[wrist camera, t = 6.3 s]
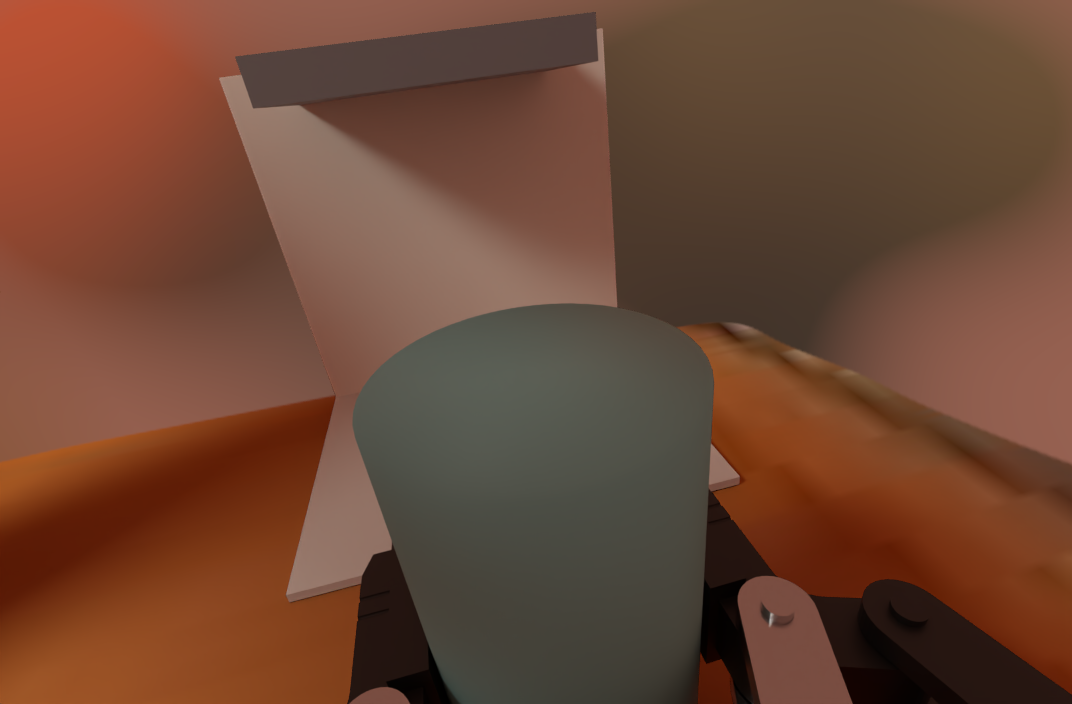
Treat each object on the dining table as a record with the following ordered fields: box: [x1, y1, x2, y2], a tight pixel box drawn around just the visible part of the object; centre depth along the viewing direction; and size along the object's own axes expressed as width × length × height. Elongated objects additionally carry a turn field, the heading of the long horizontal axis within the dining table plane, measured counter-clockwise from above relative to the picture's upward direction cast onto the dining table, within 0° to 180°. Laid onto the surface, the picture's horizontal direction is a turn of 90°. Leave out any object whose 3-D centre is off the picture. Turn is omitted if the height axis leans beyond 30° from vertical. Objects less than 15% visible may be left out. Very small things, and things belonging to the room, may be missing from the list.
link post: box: [352, 303, 714, 704], centre depth 10 cm, size 5×5×12 cm
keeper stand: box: [219, 12, 740, 602], centre depth 23 cm, size 18×16×18 cm
